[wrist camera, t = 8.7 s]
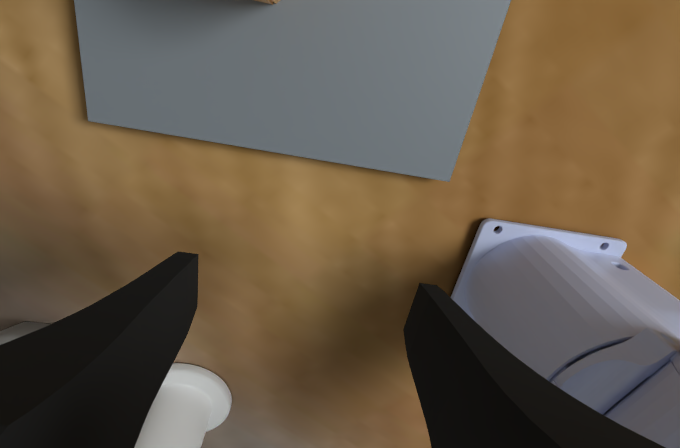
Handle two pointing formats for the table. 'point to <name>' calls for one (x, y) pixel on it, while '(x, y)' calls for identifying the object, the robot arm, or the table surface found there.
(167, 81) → the board
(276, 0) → the cap
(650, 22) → the table surface
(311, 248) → the table surface
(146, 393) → the robot arm
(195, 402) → the candle
